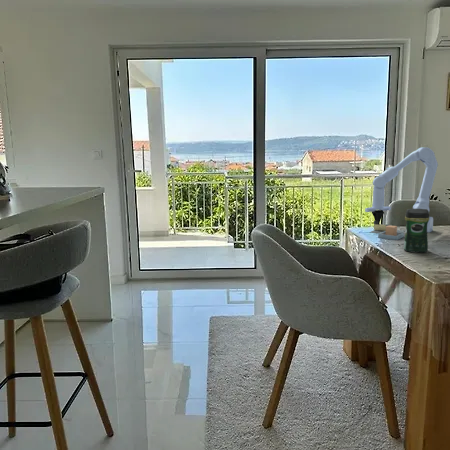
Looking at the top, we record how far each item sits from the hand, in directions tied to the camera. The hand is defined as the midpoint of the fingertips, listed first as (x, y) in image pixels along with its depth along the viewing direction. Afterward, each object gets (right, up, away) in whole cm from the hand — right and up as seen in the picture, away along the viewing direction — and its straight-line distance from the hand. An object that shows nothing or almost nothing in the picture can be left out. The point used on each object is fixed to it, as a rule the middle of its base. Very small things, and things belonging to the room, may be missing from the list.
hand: (377, 224), depth 214 cm
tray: (0, -7, -18) cm, 20 cm away
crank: (+1, -3, -4) cm, 5 cm away
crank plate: (+4, -5, -5) cm, 8 cm away
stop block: (0, -7, -19) cm, 20 cm away
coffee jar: (+1, -12, -40) cm, 42 cm away
